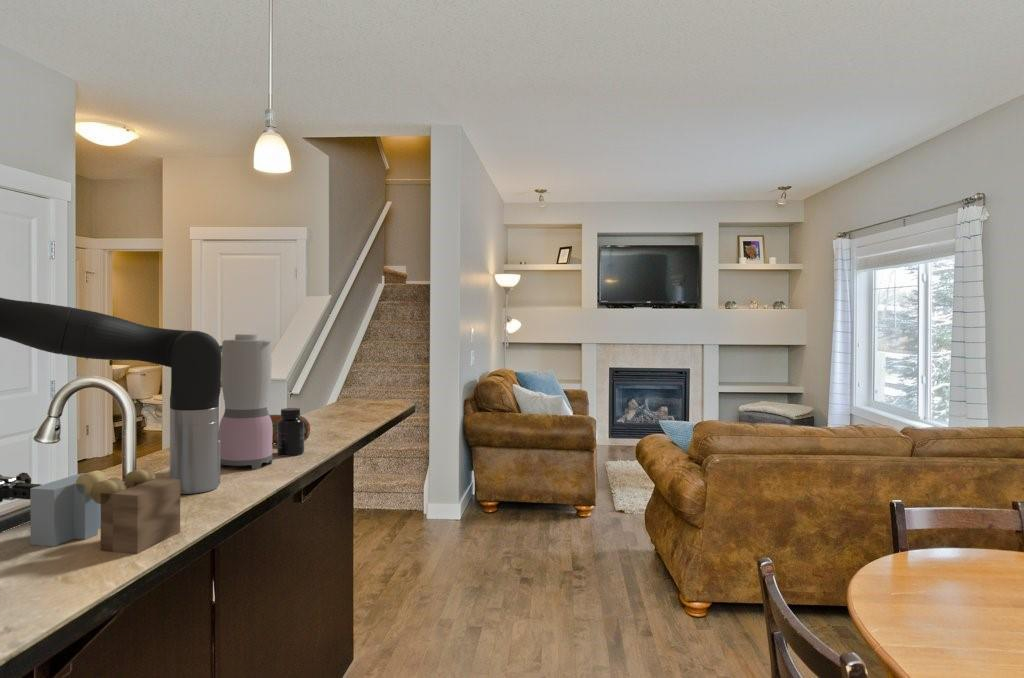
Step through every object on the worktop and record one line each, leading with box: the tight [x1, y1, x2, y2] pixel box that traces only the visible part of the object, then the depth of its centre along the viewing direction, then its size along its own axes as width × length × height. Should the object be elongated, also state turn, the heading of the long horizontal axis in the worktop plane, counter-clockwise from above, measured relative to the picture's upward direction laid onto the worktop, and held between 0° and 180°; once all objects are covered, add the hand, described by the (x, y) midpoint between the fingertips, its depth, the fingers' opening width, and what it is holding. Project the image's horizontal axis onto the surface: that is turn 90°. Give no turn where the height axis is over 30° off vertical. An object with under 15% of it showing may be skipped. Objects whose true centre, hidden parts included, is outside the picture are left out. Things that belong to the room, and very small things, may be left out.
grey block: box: [29, 470, 108, 548], centre depth 104 cm, size 10×8×11 cm
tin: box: [269, 414, 311, 443], centre depth 182 cm, size 15×3×8 cm, turn 81°
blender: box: [219, 333, 274, 470], centre depth 155 cm, size 16×12×32 cm
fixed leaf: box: [91, 466, 181, 554], centre depth 103 cm, size 10×8×11 cm
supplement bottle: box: [276, 407, 305, 456], centre depth 169 cm, size 7×7×12 cm
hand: (39, 492), depth 105 cm, fingers closed
